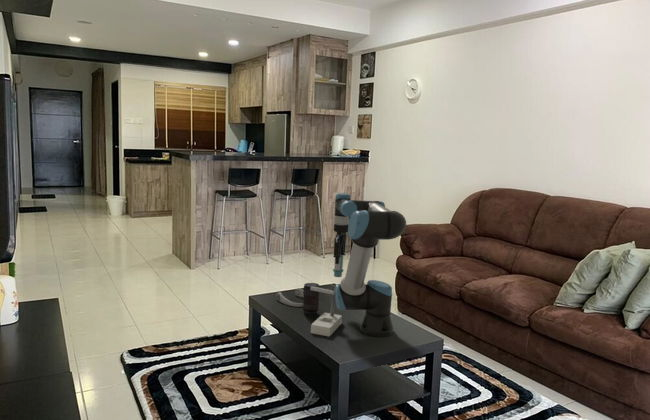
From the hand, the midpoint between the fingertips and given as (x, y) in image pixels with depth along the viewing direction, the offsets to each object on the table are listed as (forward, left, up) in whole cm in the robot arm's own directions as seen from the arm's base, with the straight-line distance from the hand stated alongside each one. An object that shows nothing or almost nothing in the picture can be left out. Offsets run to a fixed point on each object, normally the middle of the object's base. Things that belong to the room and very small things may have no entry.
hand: (338, 268), depth 256 cm
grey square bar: (+1, +18, -8) cm, 20 cm away
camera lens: (+10, +11, -22) cm, 27 cm away
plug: (0, 0, -4) cm, 4 cm away
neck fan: (+23, -3, -23) cm, 33 cm away
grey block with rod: (-4, +26, -22) cm, 34 cm away
